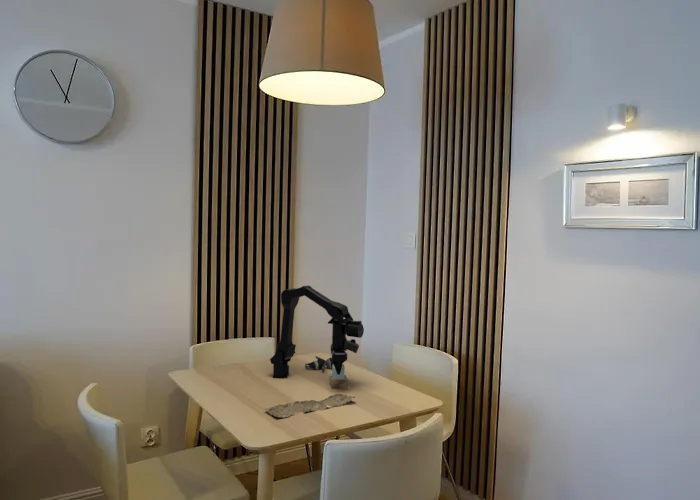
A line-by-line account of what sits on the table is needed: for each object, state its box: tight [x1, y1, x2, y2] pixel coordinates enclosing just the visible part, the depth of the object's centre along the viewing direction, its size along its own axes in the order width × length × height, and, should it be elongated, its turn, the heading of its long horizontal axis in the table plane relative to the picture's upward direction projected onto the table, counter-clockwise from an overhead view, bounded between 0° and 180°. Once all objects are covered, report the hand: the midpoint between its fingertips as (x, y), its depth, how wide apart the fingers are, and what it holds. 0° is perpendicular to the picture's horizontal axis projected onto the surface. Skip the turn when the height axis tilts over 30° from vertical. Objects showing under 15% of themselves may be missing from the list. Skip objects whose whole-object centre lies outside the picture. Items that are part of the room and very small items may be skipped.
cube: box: [331, 364, 346, 380], centre depth 221 cm, size 5×5×5 cm
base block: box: [328, 374, 350, 390], centre depth 221 cm, size 7×7×4 cm
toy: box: [304, 355, 334, 373], centre depth 248 cm, size 16×5×15 cm
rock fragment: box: [264, 393, 356, 419], centre depth 195 cm, size 34×10×3 cm, turn 126°
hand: (338, 371), depth 221 cm, fingers open, 9 cm apart
